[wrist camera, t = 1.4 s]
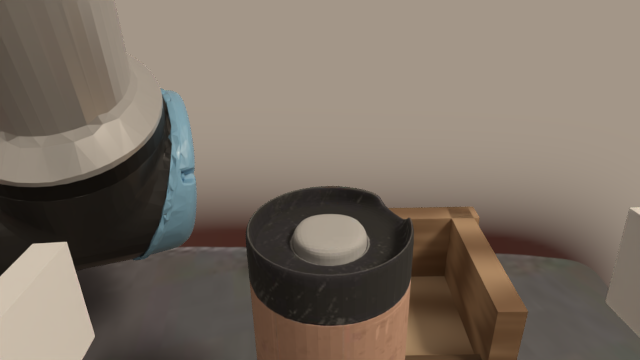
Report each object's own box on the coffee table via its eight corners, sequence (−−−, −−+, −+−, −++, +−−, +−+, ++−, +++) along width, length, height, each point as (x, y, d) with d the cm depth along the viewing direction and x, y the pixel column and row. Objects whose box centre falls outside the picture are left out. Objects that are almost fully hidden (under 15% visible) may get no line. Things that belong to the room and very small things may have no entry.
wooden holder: (512, 403, 35) (535, 311, 31) (314, 405, 35) (310, 315, 31) (461, 282, 47) (472, 206, 43) (315, 285, 47) (313, 209, 43)
